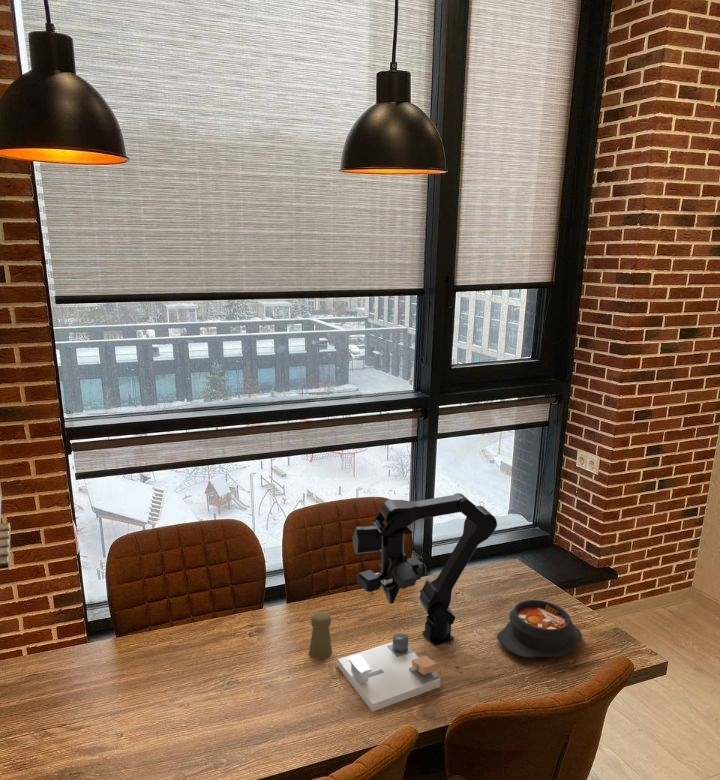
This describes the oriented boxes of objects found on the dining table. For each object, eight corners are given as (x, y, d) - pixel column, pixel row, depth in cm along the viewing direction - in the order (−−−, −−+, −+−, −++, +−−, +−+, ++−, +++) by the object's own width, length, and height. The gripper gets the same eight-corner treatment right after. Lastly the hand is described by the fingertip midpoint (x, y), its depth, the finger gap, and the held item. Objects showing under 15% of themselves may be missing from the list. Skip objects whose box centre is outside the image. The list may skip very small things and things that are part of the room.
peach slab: (426, 661, 154) (425, 655, 154) (437, 669, 150) (437, 663, 150) (411, 666, 152) (411, 660, 152) (422, 674, 148) (422, 668, 148)
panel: (400, 645, 166) (401, 637, 165) (440, 686, 150) (440, 677, 150) (337, 666, 157) (337, 657, 156) (372, 711, 141) (372, 701, 141)
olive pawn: (328, 661, 159) (329, 622, 156) (306, 657, 160) (306, 619, 157) (334, 647, 164) (335, 609, 162) (312, 643, 166) (313, 606, 163)
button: (402, 641, 164) (403, 631, 163) (410, 650, 160) (411, 640, 160) (389, 645, 162) (390, 635, 161) (397, 654, 158) (398, 644, 158)
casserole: (547, 613, 184) (549, 587, 182) (597, 647, 168) (601, 620, 166) (481, 635, 172) (483, 608, 170) (529, 675, 156) (532, 645, 154)
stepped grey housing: (359, 667, 152) (359, 654, 152) (371, 682, 147) (371, 669, 147) (348, 671, 151) (348, 658, 150) (360, 686, 146) (360, 672, 145)
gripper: (379, 571, 150) (378, 628, 153) (440, 553, 159) (437, 607, 162) (356, 552, 159) (355, 607, 162) (414, 536, 168) (412, 588, 172)
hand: (391, 602), depth 164 cm, fingers closed
